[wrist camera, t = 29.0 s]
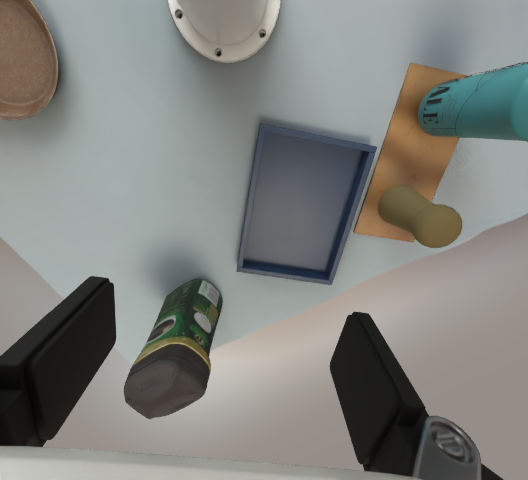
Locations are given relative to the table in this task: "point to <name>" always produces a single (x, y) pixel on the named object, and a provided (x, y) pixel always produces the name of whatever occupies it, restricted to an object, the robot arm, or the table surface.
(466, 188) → the table surface
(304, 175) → the tray
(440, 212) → the pepper shaker
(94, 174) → the table surface
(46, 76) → the saucer
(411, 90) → the orange brown rectangular board
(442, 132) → the beverage bottle
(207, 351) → the coffee jar
